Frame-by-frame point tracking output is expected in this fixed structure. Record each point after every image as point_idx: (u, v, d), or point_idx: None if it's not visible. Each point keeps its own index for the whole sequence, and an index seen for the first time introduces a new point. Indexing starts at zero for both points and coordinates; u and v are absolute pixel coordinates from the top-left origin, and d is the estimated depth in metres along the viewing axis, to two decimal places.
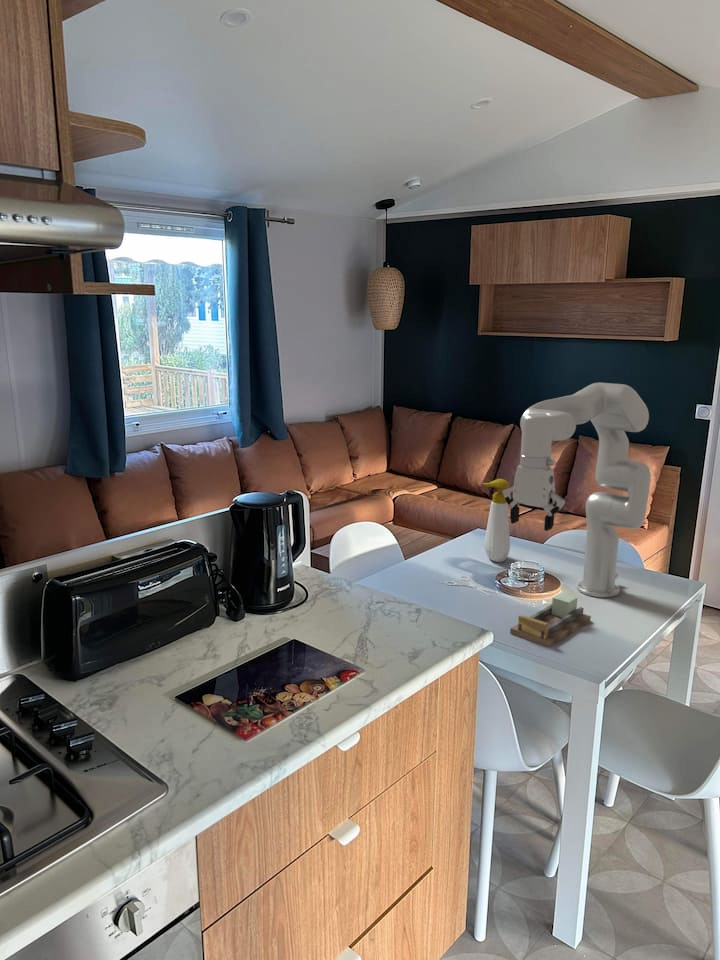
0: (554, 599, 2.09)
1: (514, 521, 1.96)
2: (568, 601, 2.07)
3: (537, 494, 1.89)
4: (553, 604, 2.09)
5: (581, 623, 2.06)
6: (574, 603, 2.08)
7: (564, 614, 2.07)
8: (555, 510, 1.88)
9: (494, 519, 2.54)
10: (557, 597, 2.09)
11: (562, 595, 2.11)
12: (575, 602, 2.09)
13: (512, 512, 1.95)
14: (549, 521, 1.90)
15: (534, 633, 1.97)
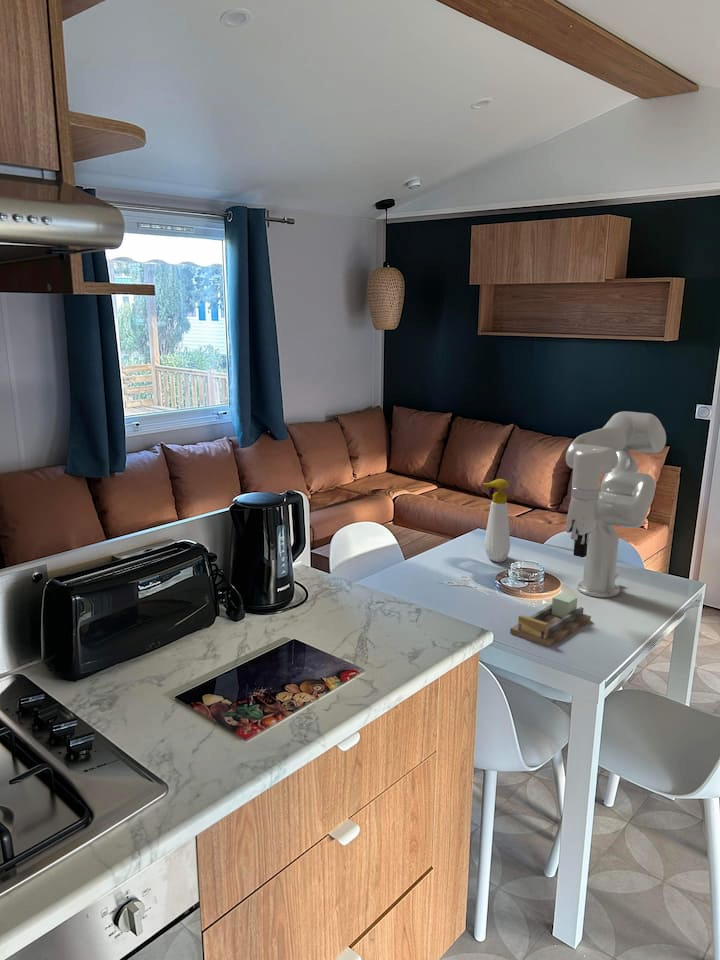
0: (554, 599, 2.09)
1: None
2: (568, 601, 2.07)
3: (594, 520, 2.10)
4: (553, 604, 2.09)
5: (581, 623, 2.06)
6: (574, 603, 2.08)
7: (564, 614, 2.07)
8: None
9: (494, 519, 2.54)
10: (557, 597, 2.09)
11: (562, 595, 2.11)
12: (575, 602, 2.09)
13: (585, 547, 2.10)
14: None
15: (534, 633, 1.97)
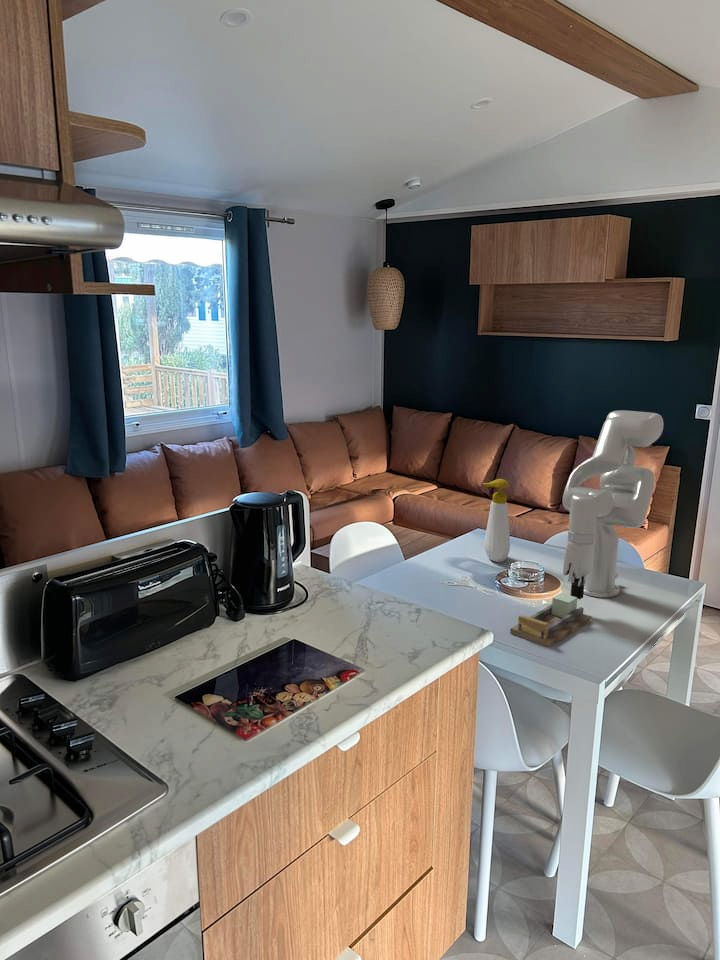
0: (554, 599, 2.09)
1: None
2: (568, 601, 2.07)
3: (590, 562, 2.13)
4: (553, 604, 2.09)
5: (581, 623, 2.06)
6: (574, 603, 2.08)
7: (564, 614, 2.07)
8: None
9: (494, 519, 2.54)
10: (557, 597, 2.09)
11: (562, 595, 2.11)
12: (575, 602, 2.09)
13: (581, 589, 2.13)
14: None
15: (534, 633, 1.97)
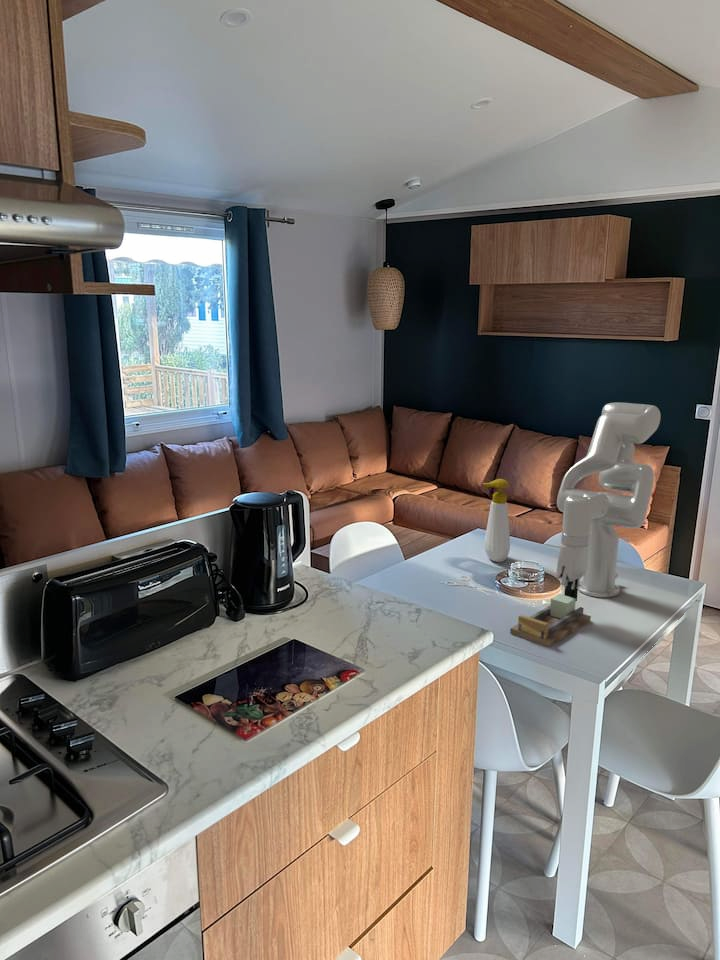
0: (552, 600, 2.08)
1: None
2: (566, 602, 2.06)
3: (584, 565, 2.10)
4: (551, 605, 2.09)
5: (581, 623, 2.06)
6: (572, 604, 2.08)
7: (562, 615, 2.07)
8: (578, 580, 2.12)
9: (494, 519, 2.54)
10: (555, 598, 2.09)
11: (560, 596, 2.10)
12: (573, 603, 2.08)
13: (575, 592, 2.10)
14: None
15: (534, 633, 1.97)
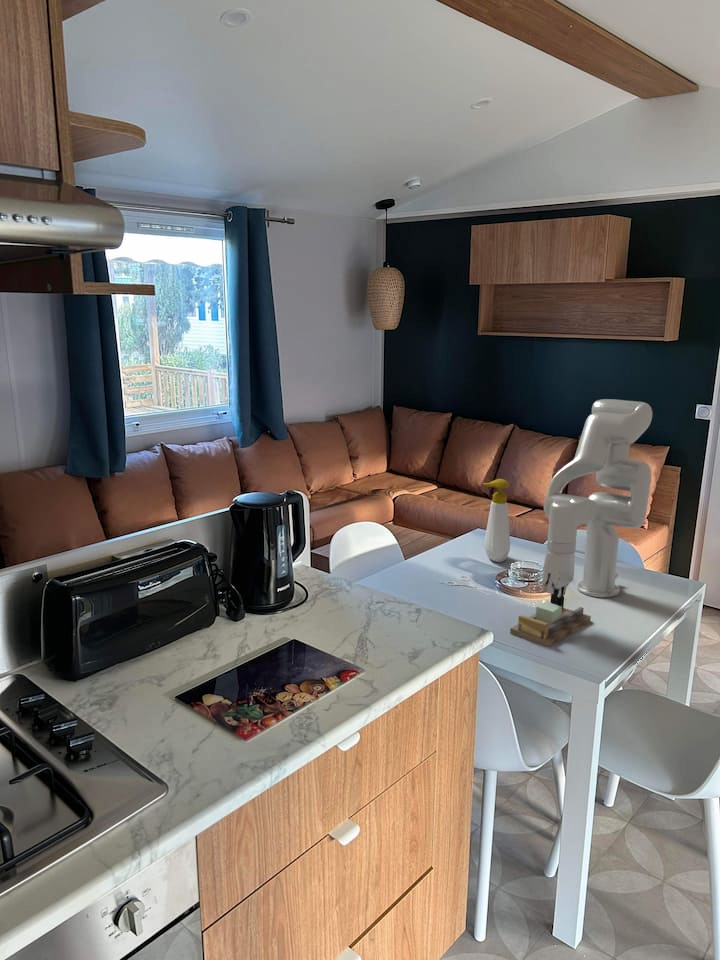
0: (538, 608, 2.03)
1: None
2: (552, 610, 2.00)
3: (571, 572, 2.04)
4: (537, 613, 2.03)
5: (581, 623, 2.06)
6: (558, 612, 2.02)
7: (548, 624, 2.01)
8: None
9: (494, 519, 2.54)
10: (541, 606, 2.03)
11: (546, 604, 2.04)
12: (560, 611, 2.03)
13: (561, 600, 2.04)
14: None
15: (534, 633, 1.97)
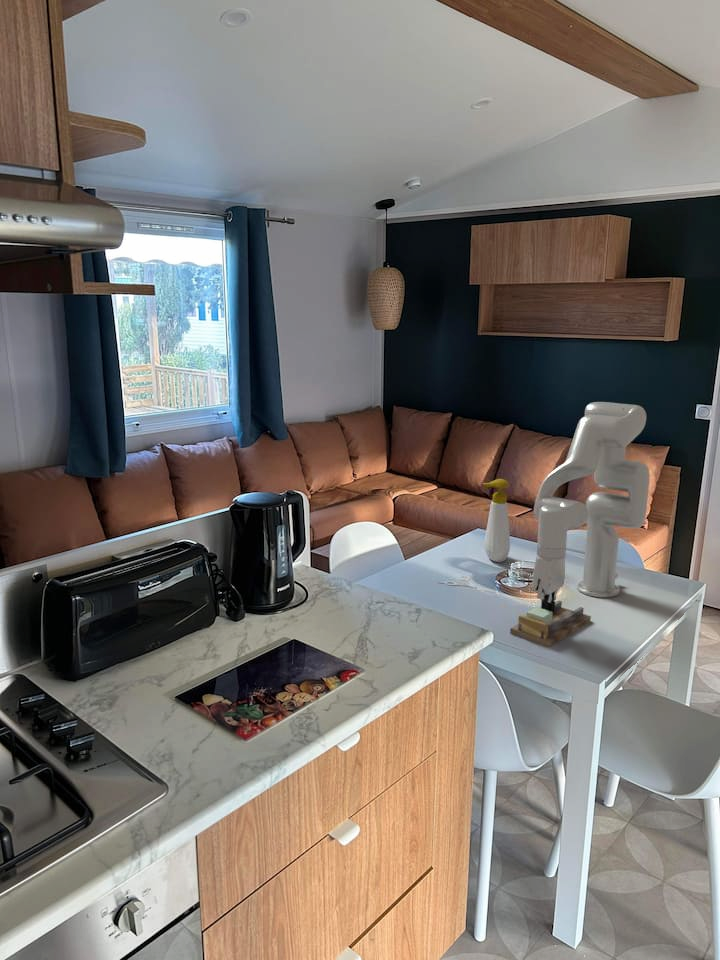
0: (528, 613, 1.99)
1: None
2: (543, 616, 1.97)
3: (561, 577, 2.00)
4: None
5: (581, 623, 2.06)
6: (549, 617, 1.99)
7: None
8: None
9: (494, 519, 2.54)
10: (531, 611, 1.99)
11: (537, 609, 2.01)
12: (550, 617, 1.99)
13: (552, 605, 2.01)
14: None
15: (534, 633, 1.97)
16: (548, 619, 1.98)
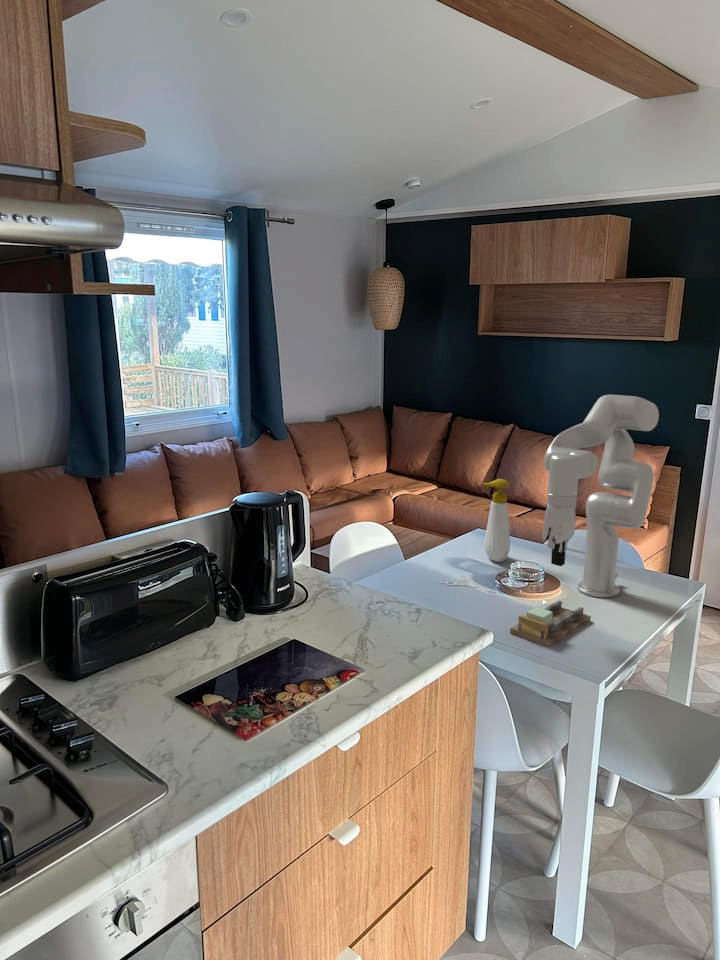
0: (528, 613, 1.99)
1: None
2: (543, 616, 1.97)
3: (572, 527, 2.00)
4: None
5: (581, 623, 2.06)
6: (549, 617, 1.99)
7: None
8: None
9: (494, 519, 2.54)
10: (531, 611, 1.99)
11: (537, 609, 2.01)
12: (550, 617, 1.99)
13: (562, 555, 2.01)
14: None
15: (534, 633, 1.97)
16: (548, 619, 1.98)
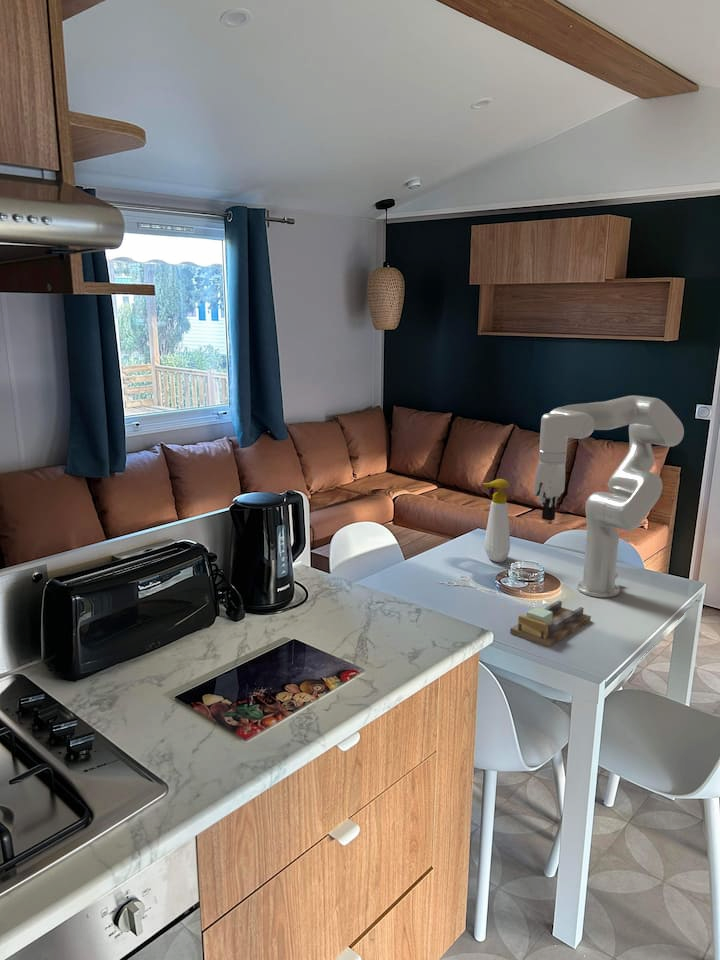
0: (528, 613, 1.99)
1: None
2: (543, 616, 1.97)
3: (562, 483, 2.11)
4: None
5: (581, 623, 2.06)
6: (549, 617, 1.99)
7: None
8: (556, 499, 2.13)
9: (494, 519, 2.54)
10: (531, 611, 1.99)
11: (537, 609, 2.01)
12: (550, 617, 1.99)
13: (552, 510, 2.11)
14: None
15: (534, 633, 1.97)
16: (548, 619, 1.98)
